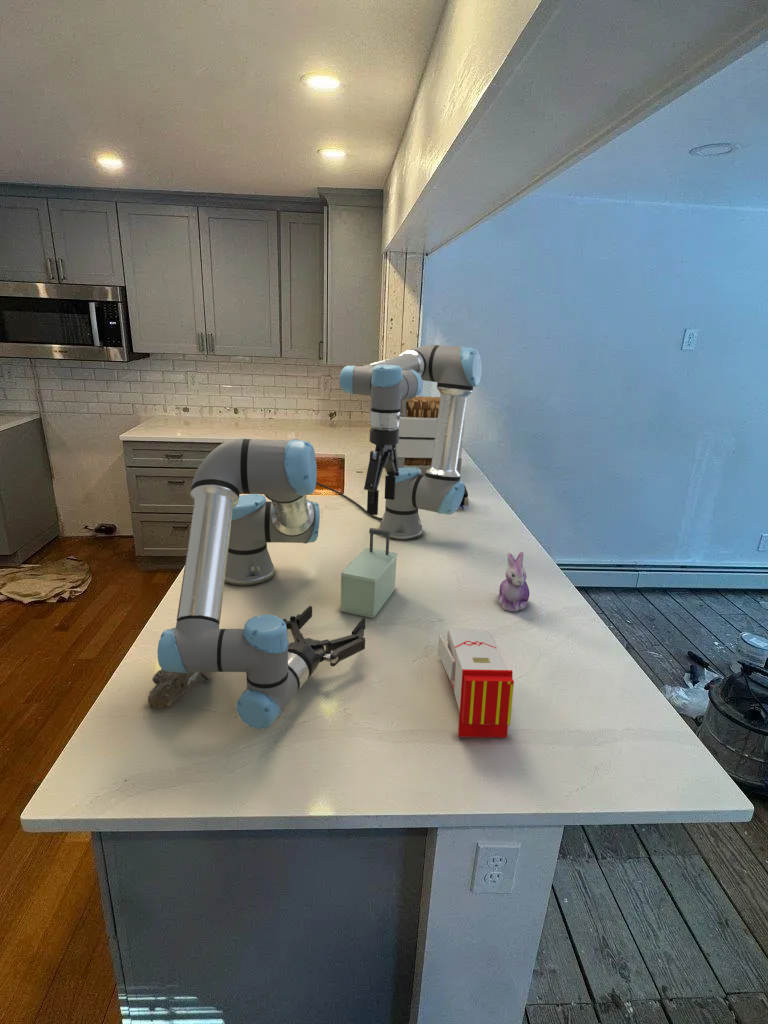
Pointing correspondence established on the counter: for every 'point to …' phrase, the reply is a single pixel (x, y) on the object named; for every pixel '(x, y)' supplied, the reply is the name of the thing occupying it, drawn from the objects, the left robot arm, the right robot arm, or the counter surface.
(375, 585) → the chest
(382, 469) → the right robot arm
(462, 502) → the figurine character
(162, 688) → the fossil
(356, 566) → the lid
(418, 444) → the light grey boxy piece
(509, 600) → the figurine
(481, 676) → the toy
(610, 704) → the counter surface
